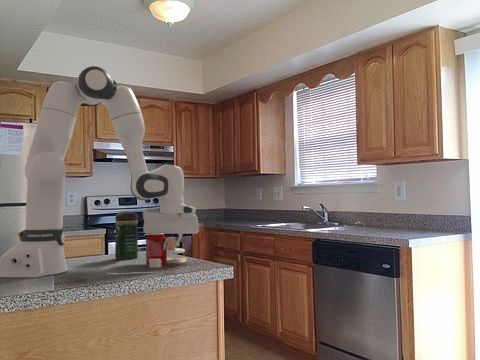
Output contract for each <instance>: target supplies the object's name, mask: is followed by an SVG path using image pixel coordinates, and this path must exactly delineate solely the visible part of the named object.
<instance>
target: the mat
mask: <svg viewBox="0 0 480 360" xmlns="http://www.w3.org/2000/svg"><path fill="white" fill-rule="evenodd" d="M171 263H173V264H174V263H175V264H179V263H187V257H174V258H171V257H167V264H171Z"/></svg>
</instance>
